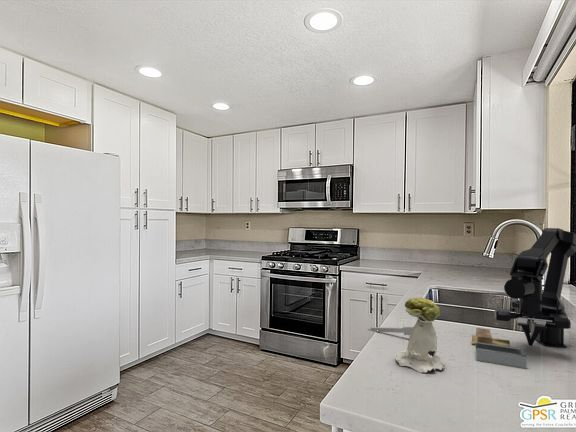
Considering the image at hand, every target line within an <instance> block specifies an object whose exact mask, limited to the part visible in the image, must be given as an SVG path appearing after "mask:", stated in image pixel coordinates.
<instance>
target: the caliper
mask: <svg viewBox="0 0 576 432" xmlns="http://www.w3.org/2000/svg"><path fill="white" fill-rule="evenodd" d="M413 327H414V326H403V327H387V326H386V327H383V326H382V327H380V326H379V327H377V326H376V327H374V326H373V327H370V328H367V331H371V332H373V333H374V332H375V333H400V334H401V333H403V335H404V336H410V334H411V331H412V329H413ZM377 330H378V331H377Z"/></svg>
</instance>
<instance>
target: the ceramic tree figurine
mask: <svg viewBox="0 0 576 432" xmlns="http://www.w3.org/2000/svg"><path fill="white" fill-rule="evenodd" d="M404 307H405V308H406V309H405V312H406V313H408V315H409V316H411V317H414V318H417V320H416V322H415V324H414V326H412V327H413V329H412V331H411V334H410V335H409V337H408V344H407V348H406V349H405V350H401V351H400V352H399V353H400V354H396V355H395V361H396V362H397V363H398V365H399V367H403V366H404V367H405V366H406V367H409V368H411V369H413V370H415V371H416V372H419V373H420V374H421V373H428V371H429V372H431V371H432V370H434V371H436V370H440V371H442V370H444V369H445V367H446V366H445V365H446V364H445V363H444V362H443V361H442V360H441V357H440V355H439V354H437V350H438V338H439V337H438V336H437V331H436V330H435V328H434V324H433V322H435V321H436V319H437V318H438V317H439V316H440V315H441V311H440V307H439V306H438V305H437V304H436V303H435V302H434V301H433V300H430V299H428V298H425V297H413V298H412V297H411V298H408V299H407V301H405V302H404Z"/></svg>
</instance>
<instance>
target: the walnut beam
mask: <svg viewBox="0 0 576 432" xmlns="http://www.w3.org/2000/svg"><path fill="white" fill-rule="evenodd" d="M475 329H476V330H475V336H477V342H480V343H487V344H492V342H493V338H494V337H493V335H492V332H491V329H489V328H488V329H487V328H481V327H476V328H475Z"/></svg>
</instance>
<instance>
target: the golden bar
mask: <svg viewBox="0 0 576 432" xmlns="http://www.w3.org/2000/svg"><path fill="white" fill-rule="evenodd" d="M492 338H493V342H492V344H494V345H501V346H508V347H511V342H510V339H502V338H494V337H492ZM476 342H477V336H476V334H475V335H473V334H471V345H473V346H476Z"/></svg>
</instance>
